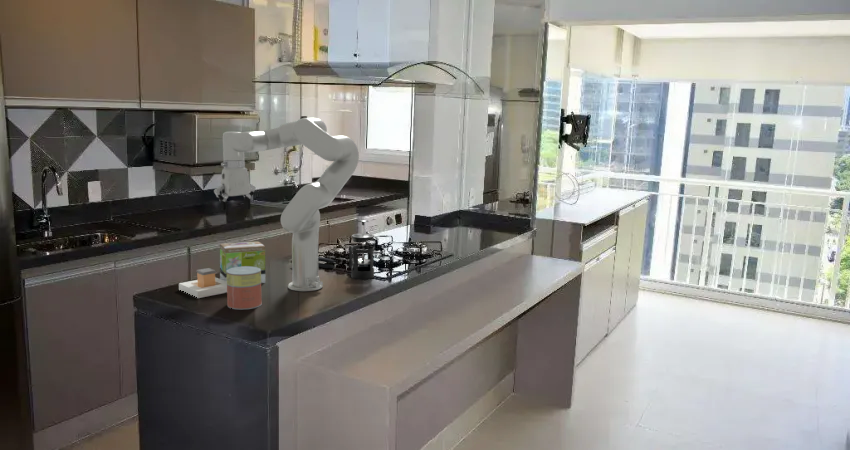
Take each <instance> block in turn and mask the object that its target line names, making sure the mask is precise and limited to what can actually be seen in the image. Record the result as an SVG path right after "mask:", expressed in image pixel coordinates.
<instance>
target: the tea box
mask: <svg viewBox="0 0 850 450" xmlns="http://www.w3.org/2000/svg"><path fill="white" fill-rule="evenodd" d="M219 264H220V265H219V279H222V280H224V281H227V272H226V270H227V269H230V268H233V267H240V266H253V267H258V268H260V269H261V284H266V246H265V245H264V244H263V243H262V242H260V241H246V242H244V241H243V242H229V243H226V242H224V243H219Z"/></svg>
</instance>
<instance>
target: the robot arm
mask: <svg viewBox="0 0 850 450" xmlns="http://www.w3.org/2000/svg"><path fill="white" fill-rule="evenodd" d="M327 130H328V129H327V125H326V123H325V122H324V120H322V119H320V118H318V117H303V118H300V119H298V120H295V121H290V122H285V123H281V124H280V125H279V126H278V127H274V128H270V129H265V130H255V131H254V130H253V131H243V132H241V131H225V132H223V134H222V152H223V154H222V155H223V156H222V157H223V162H221V163H220V166H221V167H223V168H222V170H221V177H220V178H221V179H220V185H219V186H217V187H216V188H215V189H214V190H213V193H214V194H215V197H216V198H217V199H218V200H219V202H220V209H221V212H224V213H228V212H229V203H228V200H227V199H229V197H238V196H243V209H244V210H250V209H251V199H252V197H253V195H254V194H255V191H256V186H255V185H253V184H251V183H250V176H249V172H248V168H247V167H246V166H245V165H246V161H245V159H246V158H245V153H254V152H255V153H256V152H263V151H264V152H265V151H270V150H274V149H280V148H289V147H295V146H300V145H303V146H304V147H305V148H306V149H308V150H310V151H311V152H312V153H314V154H315V155H316V156H318V157H320V158H321V159H323V160H324V161H327V162H328V161H329V162H331V164H330V165H329V166H328V167H327V168H326V169H324V171H323V173H322V175H321V176H320V177H319V178H318V179H317V180H316V181H314V182H311V183H307V184H305V185H303V186H302V187H301V188H300V189H299V190H298V191H297V192H296V193H295V195H294V196H293V198H291V200H289V202H288V204H287V205H286V207H285V208H284V209H283V211H282V213H281V216H280V224H281V227H282V228H283V230H284V231H286V232H288V233H291V234H292V238H291V261H292V264H291V266H292V267H291V269H292V281H291V282H289V283H288V285H287V288H288V289H289V290H291V291H294V292H295V291H296V292H312V291H317V290H320V289H322V288H323V286H324V285H323V284H324V283H323V281H322V280H320V276H319V267H318V263H319V261H318V257H319V232H320V226H321V213H320V209H324V208H326V207H328V206H329V205H330V204H332V202H333V200H334V199H335V198H336V196H338V194H339V193H340V192H341V190H342V189H343V187H344V186H345V185H346V183H347V182H348V181H349V179H350V178H351V177H352V176H353V174H354V173H355V171H356V169H357V168H358V164H359V159H360V155H359V148H358V146H357V143H355V141H354V139H352V138H350V137H349V136H347V135H331V134H329V133H328V131H327Z"/></svg>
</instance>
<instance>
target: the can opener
mask: <svg viewBox="0 0 850 450" xmlns="http://www.w3.org/2000/svg"><path fill="white" fill-rule="evenodd" d="M323 262H324V263H323ZM329 263H330V264H329ZM331 263H332V264H331ZM333 263H335V260H334V259H331V258H327V257H323V256H322V257H321V256H318V268H320V269H321V268H323V269H333V268H334V265H333Z"/></svg>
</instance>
